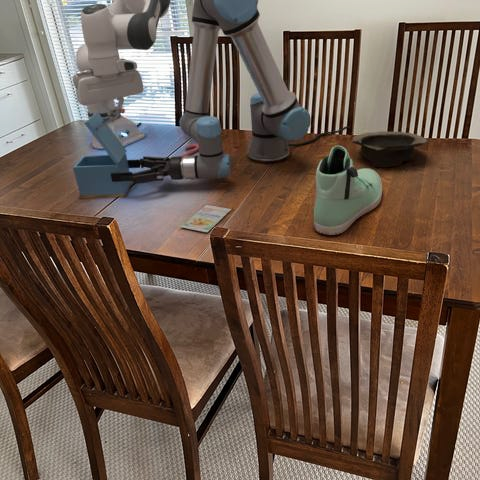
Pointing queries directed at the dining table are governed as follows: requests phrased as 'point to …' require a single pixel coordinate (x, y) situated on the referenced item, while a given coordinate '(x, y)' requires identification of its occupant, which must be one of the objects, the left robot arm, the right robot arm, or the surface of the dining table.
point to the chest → (100, 176)
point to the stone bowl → (388, 147)
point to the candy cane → (190, 150)
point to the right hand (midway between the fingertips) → (116, 170)
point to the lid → (106, 135)
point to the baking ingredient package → (206, 218)
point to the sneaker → (343, 192)
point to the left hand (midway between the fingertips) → (115, 113)
